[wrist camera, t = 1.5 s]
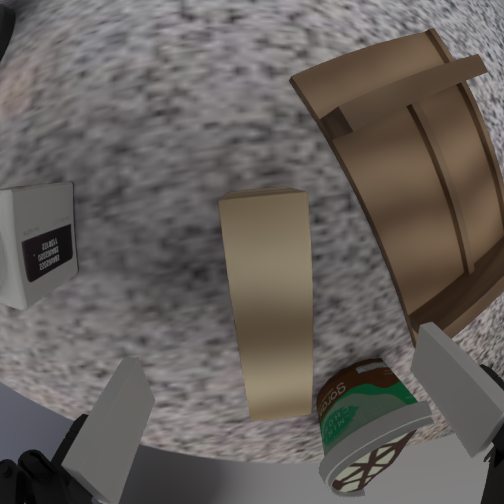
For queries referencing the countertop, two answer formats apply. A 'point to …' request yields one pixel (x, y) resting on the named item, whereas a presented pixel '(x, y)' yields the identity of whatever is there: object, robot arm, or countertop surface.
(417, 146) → the wooden slatted panel
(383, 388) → the food container
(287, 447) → the countertop surface
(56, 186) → the container
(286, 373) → the tan rectangular block
